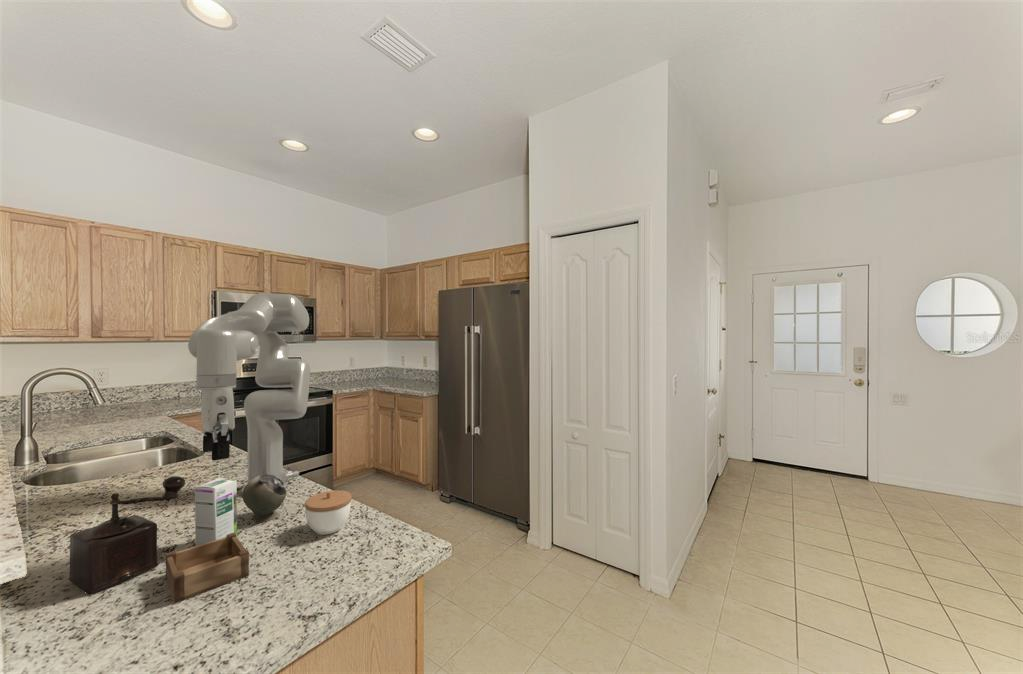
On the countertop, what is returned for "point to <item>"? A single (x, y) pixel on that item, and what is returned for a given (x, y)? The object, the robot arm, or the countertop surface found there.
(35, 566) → the countertop surface
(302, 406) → the robot arm
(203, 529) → the syrup box
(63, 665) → the countertop surface
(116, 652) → the countertop surface
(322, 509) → the lidded jar
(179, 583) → the crate
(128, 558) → the manual coffee grinder
